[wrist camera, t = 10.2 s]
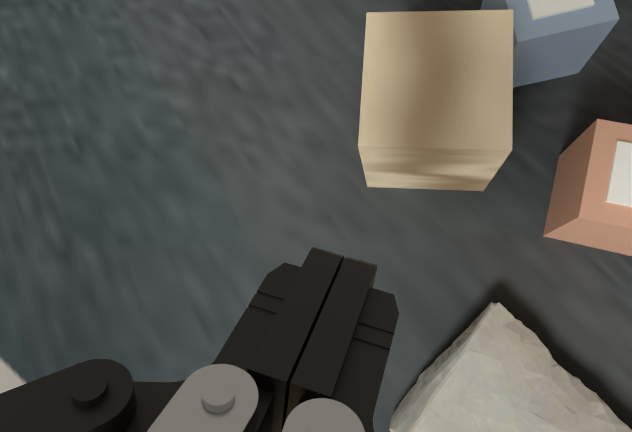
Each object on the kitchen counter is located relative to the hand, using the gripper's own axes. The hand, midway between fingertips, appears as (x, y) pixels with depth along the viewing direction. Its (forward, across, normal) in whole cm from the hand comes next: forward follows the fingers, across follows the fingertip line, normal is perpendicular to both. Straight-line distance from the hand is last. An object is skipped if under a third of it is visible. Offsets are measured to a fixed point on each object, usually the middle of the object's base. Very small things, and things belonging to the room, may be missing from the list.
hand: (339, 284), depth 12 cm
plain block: (+22, 0, +6) cm, 22 cm away
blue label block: (+26, -5, +1) cm, 27 cm away
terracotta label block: (+20, -11, +7) cm, 24 cm away
